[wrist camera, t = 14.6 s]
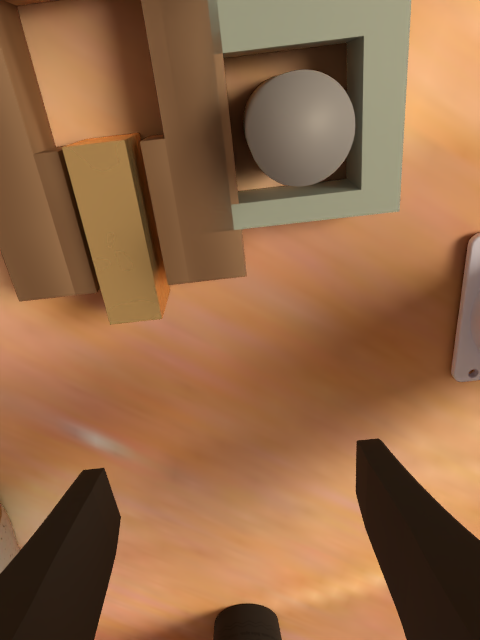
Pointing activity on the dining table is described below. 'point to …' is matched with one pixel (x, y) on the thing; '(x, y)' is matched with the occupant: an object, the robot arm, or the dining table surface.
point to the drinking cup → (247, 624)
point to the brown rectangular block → (119, 225)
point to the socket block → (158, 154)
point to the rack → (320, 108)
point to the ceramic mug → (6, 540)
